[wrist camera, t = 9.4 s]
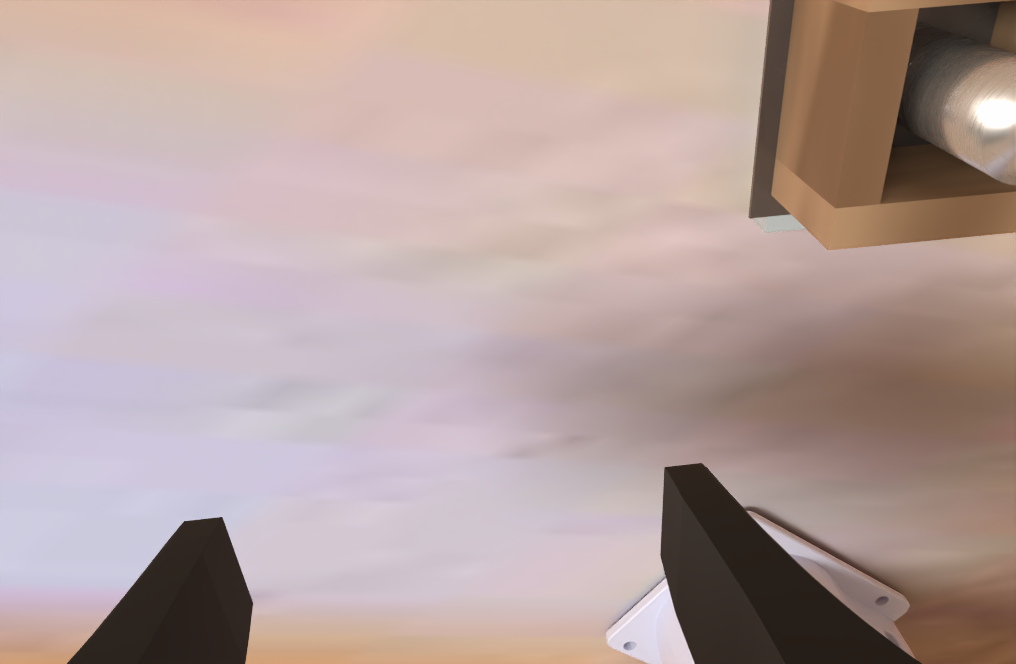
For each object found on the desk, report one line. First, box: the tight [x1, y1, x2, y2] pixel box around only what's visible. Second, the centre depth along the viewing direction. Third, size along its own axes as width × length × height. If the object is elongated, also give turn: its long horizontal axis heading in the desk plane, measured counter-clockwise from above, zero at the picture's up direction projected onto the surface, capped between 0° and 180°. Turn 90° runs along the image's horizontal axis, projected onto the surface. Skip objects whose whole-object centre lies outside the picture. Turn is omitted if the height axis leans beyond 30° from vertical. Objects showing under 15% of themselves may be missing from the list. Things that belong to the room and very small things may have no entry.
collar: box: [771, 0, 1016, 250], centre depth 17 cm, size 6×6×3 cm
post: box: [749, 0, 1016, 218], centre depth 17 cm, size 7×7×5 cm
